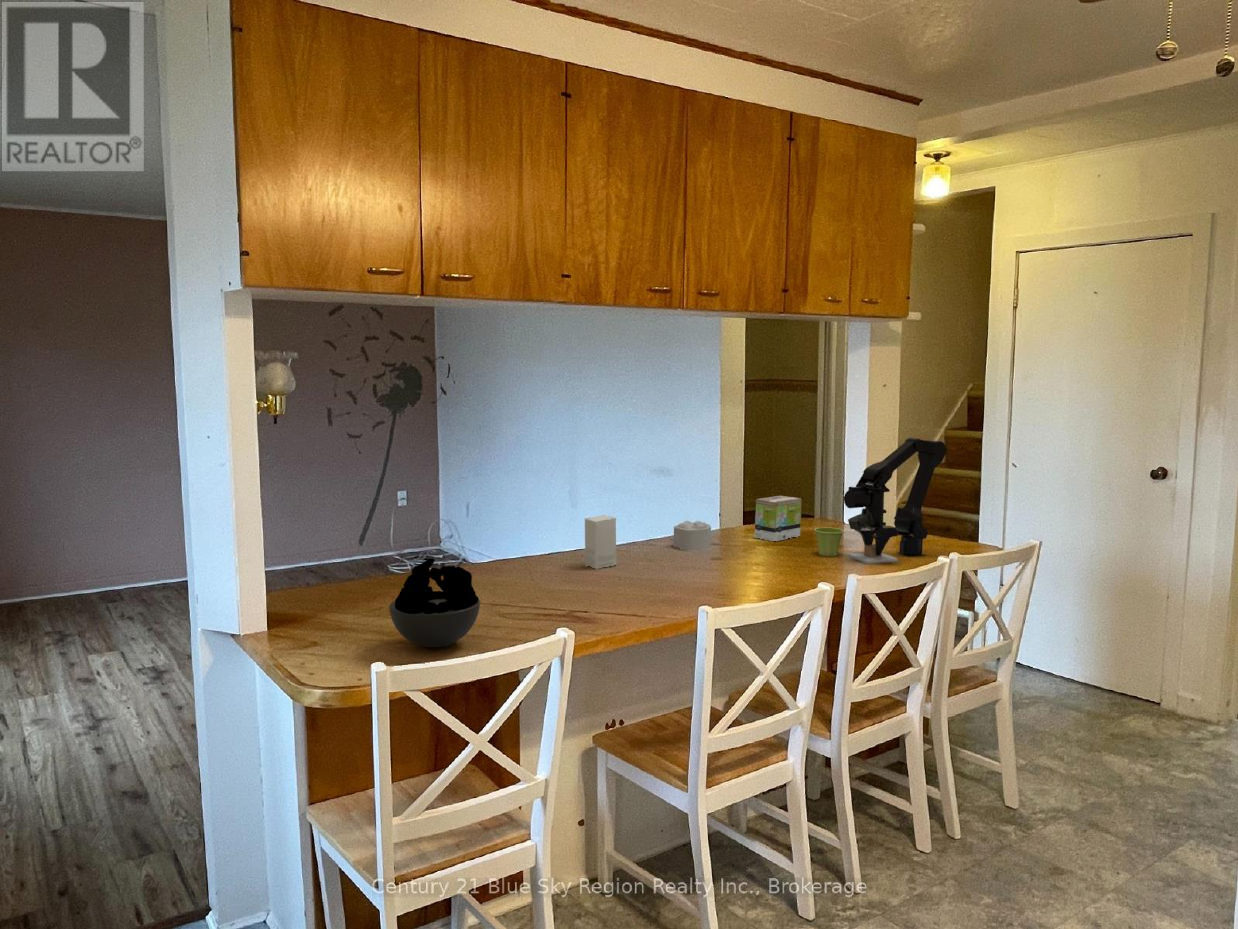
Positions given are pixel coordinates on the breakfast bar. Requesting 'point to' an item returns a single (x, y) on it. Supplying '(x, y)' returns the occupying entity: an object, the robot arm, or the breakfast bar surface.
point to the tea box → (777, 518)
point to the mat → (871, 563)
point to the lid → (872, 555)
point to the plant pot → (828, 540)
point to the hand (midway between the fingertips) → (873, 553)
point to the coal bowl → (435, 606)
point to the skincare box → (600, 541)
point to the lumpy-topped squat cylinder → (692, 535)
